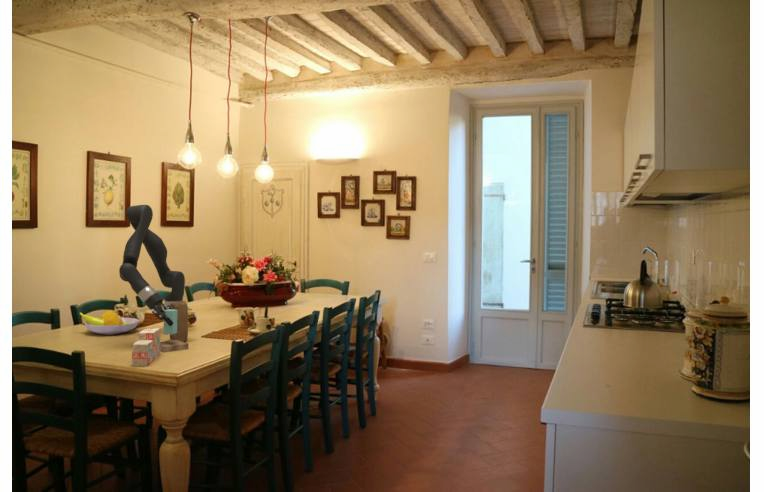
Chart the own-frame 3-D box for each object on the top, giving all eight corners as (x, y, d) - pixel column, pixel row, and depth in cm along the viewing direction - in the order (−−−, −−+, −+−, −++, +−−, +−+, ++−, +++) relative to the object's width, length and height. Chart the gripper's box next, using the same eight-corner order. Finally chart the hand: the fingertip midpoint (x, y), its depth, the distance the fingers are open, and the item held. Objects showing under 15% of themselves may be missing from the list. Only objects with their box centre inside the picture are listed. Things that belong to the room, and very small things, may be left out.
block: (188, 342, 285) (189, 302, 284) (173, 343, 280) (174, 303, 279) (181, 338, 293) (182, 299, 292) (167, 339, 289) (167, 300, 288)
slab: (177, 345, 278) (177, 339, 278) (188, 349, 269) (188, 343, 269) (152, 349, 270) (152, 342, 270) (163, 353, 261) (163, 347, 261)
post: (168, 332, 272) (168, 309, 271) (177, 332, 271) (177, 309, 271) (163, 333, 267) (163, 310, 267) (172, 334, 267) (173, 311, 266)
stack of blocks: (147, 366, 237) (147, 337, 236) (131, 366, 236) (131, 337, 235) (160, 354, 258) (160, 327, 257) (146, 354, 257) (146, 327, 256)
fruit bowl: (146, 328, 319) (146, 308, 318) (125, 337, 292) (126, 315, 291) (95, 327, 318) (95, 307, 317) (70, 337, 291) (70, 315, 290)
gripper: (148, 293, 262) (173, 321, 261) (163, 290, 276) (186, 316, 276) (137, 304, 263) (161, 331, 262) (152, 300, 277) (175, 326, 276)
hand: (174, 323), depth 269 cm, fingers closed on post, 4 cm apart
